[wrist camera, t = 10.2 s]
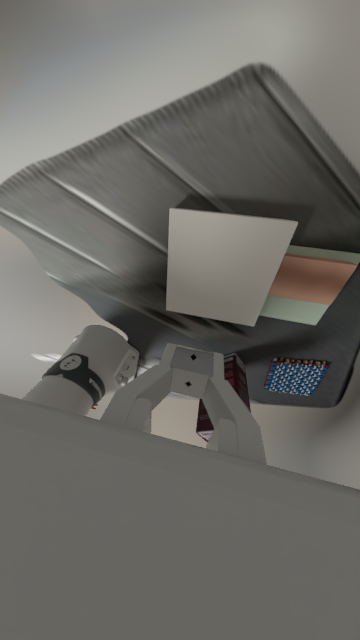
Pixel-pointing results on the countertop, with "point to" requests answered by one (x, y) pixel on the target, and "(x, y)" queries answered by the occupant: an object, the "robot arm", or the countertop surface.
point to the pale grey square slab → (223, 263)
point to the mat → (297, 308)
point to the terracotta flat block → (311, 278)
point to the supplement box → (237, 380)
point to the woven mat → (294, 376)
